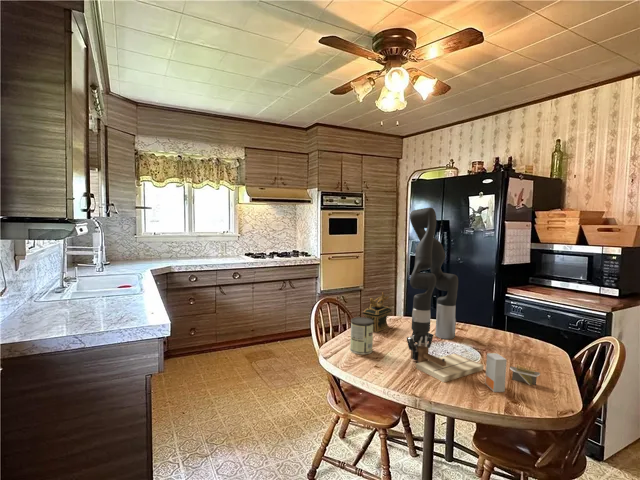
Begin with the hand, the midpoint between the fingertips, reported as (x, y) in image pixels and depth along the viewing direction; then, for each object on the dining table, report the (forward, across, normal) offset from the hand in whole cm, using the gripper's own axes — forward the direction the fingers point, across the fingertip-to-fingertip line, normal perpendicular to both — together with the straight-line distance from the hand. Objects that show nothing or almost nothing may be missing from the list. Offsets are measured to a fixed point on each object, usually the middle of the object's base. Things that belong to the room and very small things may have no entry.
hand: (419, 358), depth 151 cm
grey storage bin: (+2, -21, +33) cm, 39 cm away
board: (+1, -6, +11) cm, 13 cm away
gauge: (+1, 0, +5) cm, 5 cm away
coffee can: (+2, +14, -22) cm, 26 cm away
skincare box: (+2, -7, +30) cm, 31 cm away
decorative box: (+2, -16, -45) cm, 48 cm away
